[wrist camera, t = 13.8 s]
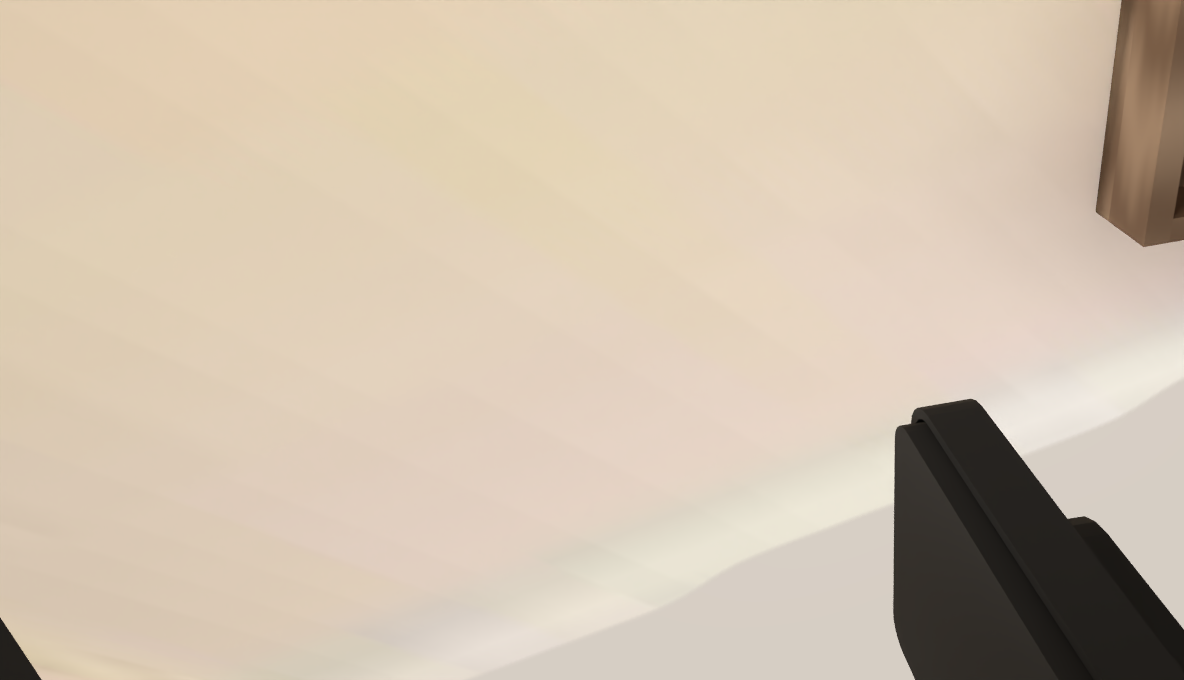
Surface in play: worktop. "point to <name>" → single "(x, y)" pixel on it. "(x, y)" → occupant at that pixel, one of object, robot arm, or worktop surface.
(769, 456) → the worktop surface
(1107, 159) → the walnut tray
